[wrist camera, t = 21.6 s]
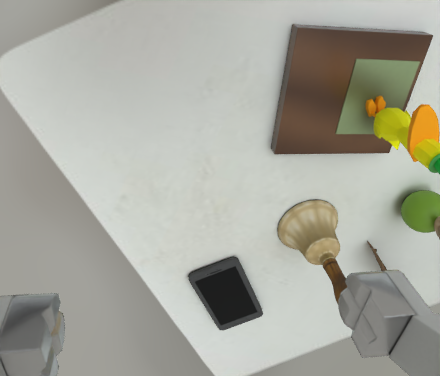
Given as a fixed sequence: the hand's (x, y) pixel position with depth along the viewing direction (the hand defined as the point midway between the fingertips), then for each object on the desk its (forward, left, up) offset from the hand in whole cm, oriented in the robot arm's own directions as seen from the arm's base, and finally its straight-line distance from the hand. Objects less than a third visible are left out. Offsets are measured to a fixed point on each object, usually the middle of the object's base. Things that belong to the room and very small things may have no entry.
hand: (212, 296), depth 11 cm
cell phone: (+34, +9, -29) cm, 46 cm away
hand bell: (+22, +19, -29) cm, 41 cm away
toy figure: (+5, +22, -27) cm, 35 cm away
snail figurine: (+18, +33, -29) cm, 47 cm away
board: (+4, +19, -29) cm, 35 cm away
